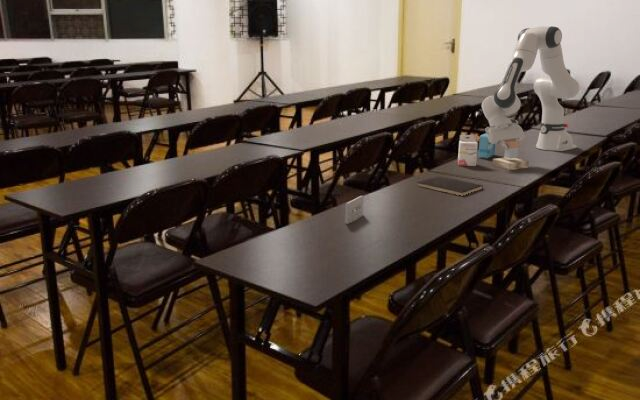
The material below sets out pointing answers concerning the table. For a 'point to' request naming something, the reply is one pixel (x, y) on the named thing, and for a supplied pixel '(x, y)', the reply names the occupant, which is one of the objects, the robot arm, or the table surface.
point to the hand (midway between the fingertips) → (512, 148)
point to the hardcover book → (450, 185)
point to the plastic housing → (512, 149)
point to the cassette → (353, 213)
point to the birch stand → (510, 163)
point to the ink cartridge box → (467, 151)
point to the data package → (485, 147)
